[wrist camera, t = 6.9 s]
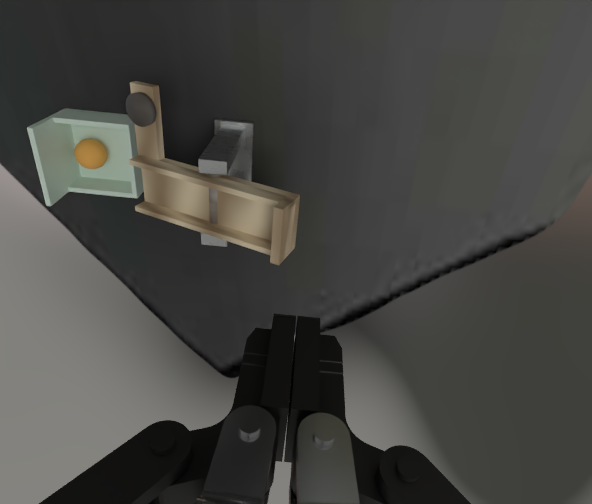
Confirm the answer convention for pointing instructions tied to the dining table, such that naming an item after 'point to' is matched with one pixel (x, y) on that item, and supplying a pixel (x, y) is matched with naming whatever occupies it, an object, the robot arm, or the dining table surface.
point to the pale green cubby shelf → (64, 167)
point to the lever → (207, 190)
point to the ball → (90, 153)
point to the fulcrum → (228, 157)
